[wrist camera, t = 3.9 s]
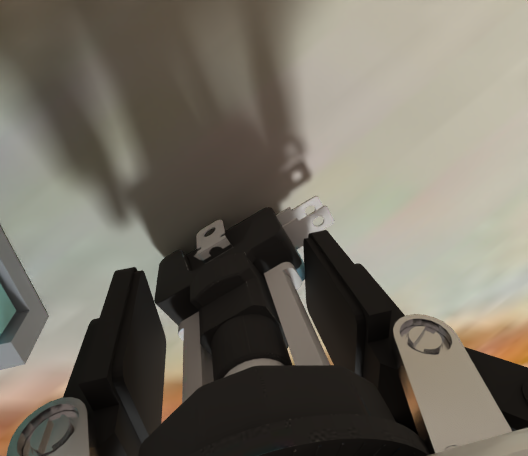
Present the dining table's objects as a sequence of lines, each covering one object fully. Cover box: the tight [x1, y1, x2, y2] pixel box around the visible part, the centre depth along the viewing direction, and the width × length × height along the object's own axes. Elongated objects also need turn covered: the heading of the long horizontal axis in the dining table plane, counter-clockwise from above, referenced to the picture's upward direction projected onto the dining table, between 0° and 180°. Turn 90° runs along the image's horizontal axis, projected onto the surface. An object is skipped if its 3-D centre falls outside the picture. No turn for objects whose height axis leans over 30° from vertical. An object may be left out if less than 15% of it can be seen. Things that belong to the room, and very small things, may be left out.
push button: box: [138, 196, 430, 456], centre depth 9 cm, size 7×5×10 cm
